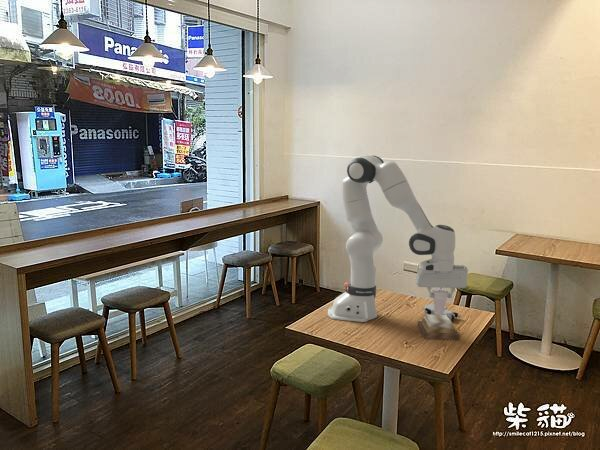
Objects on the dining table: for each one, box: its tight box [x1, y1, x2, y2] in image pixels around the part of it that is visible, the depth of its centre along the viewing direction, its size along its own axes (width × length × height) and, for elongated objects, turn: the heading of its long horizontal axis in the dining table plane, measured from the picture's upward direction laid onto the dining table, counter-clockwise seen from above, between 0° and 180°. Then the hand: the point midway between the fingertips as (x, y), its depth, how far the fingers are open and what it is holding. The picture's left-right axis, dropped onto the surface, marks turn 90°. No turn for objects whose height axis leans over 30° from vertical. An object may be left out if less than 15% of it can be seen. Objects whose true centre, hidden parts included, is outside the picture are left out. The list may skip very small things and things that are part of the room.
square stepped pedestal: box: [416, 313, 460, 341], centre depth 207 cm, size 14×14×6 cm
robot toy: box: [420, 302, 462, 322], centre depth 224 cm, size 12×4×15 cm
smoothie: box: [431, 288, 449, 315], centre depth 204 cm, size 6×6×14 cm
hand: (440, 297), depth 204 cm, fingers closed on smoothie, 6 cm apart
